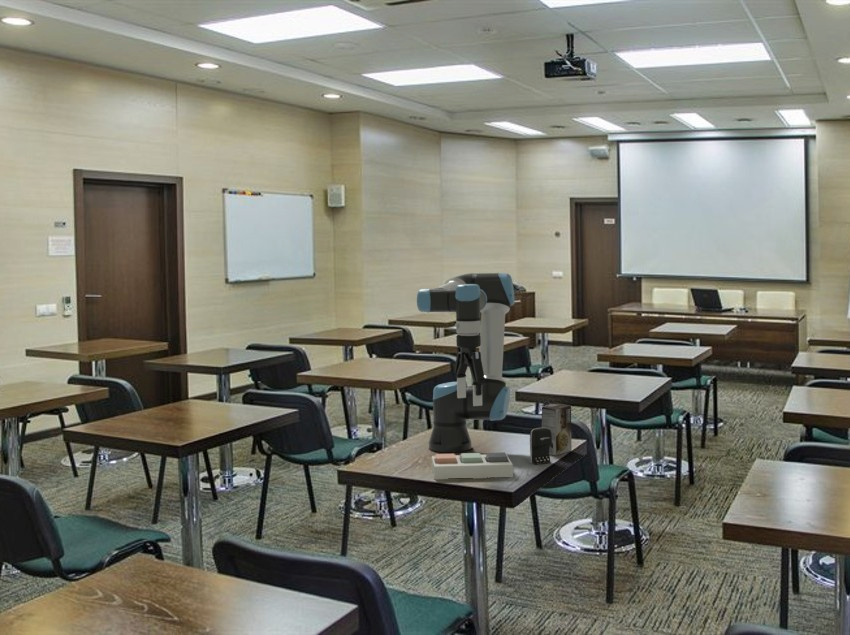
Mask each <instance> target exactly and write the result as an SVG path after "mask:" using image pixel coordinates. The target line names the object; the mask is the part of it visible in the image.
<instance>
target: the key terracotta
mask: <svg viewBox="0 0 850 635" xmlns="http://www.w3.org/2000/svg"><path fill="white" fill-rule="evenodd" d="M455 455H456V453H435V456H436V464H445V463H456V456H455Z"/></svg>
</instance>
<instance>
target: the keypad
mask: <svg viewBox="0 0 850 635" xmlns="http://www.w3.org/2000/svg"><path fill="white" fill-rule="evenodd" d="M480 455H481V457H482V463H461V454H459V455H458V454H457V455H456V454H455V456H456V463H445V464H436V455H432V456H431V470H432V475H433V478H434V479H435V480H449V479H448V478H473V479H490V478H489V477H511V478H514V471H513V470H514V468H513V467H514V466H513V465H514V464H513V462H512V461H511V460H510V458H509V456H508V454H507V453H506V455H507V457H508V462H486V454H480ZM487 477H488V478H487Z"/></svg>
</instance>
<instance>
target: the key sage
mask: <svg viewBox="0 0 850 635" xmlns="http://www.w3.org/2000/svg"><path fill="white" fill-rule="evenodd" d="M460 455H461V463H482V457H481V455H482V454H481V453H480V452H467V453H465V452H463V453H460Z"/></svg>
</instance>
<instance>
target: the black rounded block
mask: <svg viewBox="0 0 850 635" xmlns="http://www.w3.org/2000/svg"><path fill="white" fill-rule="evenodd" d="M550 444H552V433H551V430H550V429H547V428H544V427H543V428H542V427H536V428H533V429H532V430H530V432H529V449H530V450H529V452H530V453H529V454H530V459H529V460H530V461H529V462H530V463H531V464H533V465H542V464H548V463H550V462H551V457H550V454H549V446H550Z"/></svg>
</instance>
